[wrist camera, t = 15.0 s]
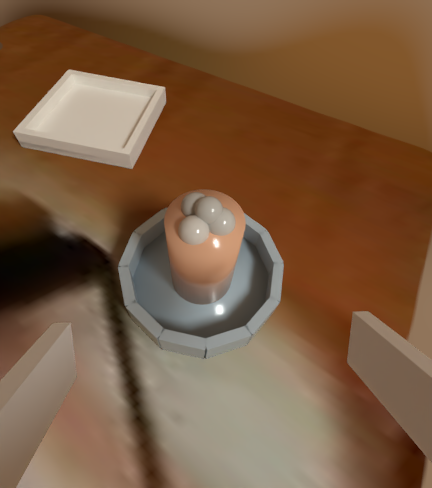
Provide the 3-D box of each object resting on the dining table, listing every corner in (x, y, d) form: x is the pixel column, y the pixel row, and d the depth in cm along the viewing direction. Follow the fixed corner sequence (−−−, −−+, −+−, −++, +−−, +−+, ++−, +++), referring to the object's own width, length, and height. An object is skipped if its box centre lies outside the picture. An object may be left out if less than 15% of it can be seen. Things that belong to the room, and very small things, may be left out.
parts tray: (21, 146, 42) (12, 131, 40) (73, 84, 50) (68, 69, 48) (132, 168, 41) (129, 154, 39) (166, 102, 50) (165, 87, 47)
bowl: (102, 335, 29) (92, 324, 26) (154, 209, 38) (150, 190, 35) (265, 373, 28) (274, 366, 25) (280, 235, 37) (288, 218, 34)
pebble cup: (164, 297, 31) (149, 228, 20) (180, 245, 34) (175, 164, 24) (225, 310, 30) (242, 248, 20) (236, 256, 34) (255, 180, 23)
